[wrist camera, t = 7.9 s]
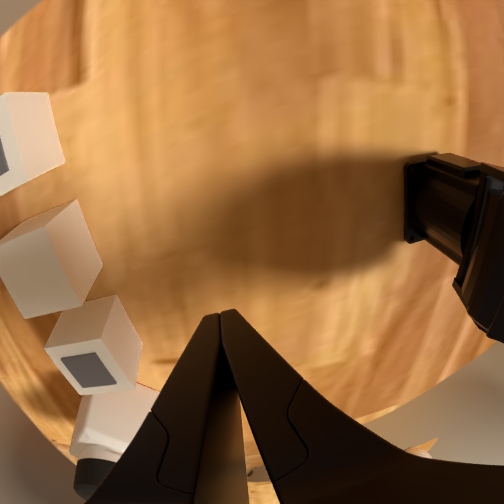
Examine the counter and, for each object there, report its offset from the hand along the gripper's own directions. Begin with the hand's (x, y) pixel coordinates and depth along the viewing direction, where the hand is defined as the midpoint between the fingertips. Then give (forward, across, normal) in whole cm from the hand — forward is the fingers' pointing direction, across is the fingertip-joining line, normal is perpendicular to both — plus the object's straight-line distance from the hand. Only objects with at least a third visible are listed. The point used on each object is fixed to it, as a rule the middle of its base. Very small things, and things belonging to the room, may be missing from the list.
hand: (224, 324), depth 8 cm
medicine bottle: (+12, +14, +16) cm, 25 cm away
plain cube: (+12, +11, 0) cm, 16 cm away
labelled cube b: (+12, +11, -8) cm, 18 cm away
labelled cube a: (+12, +11, +8) cm, 18 cm away
